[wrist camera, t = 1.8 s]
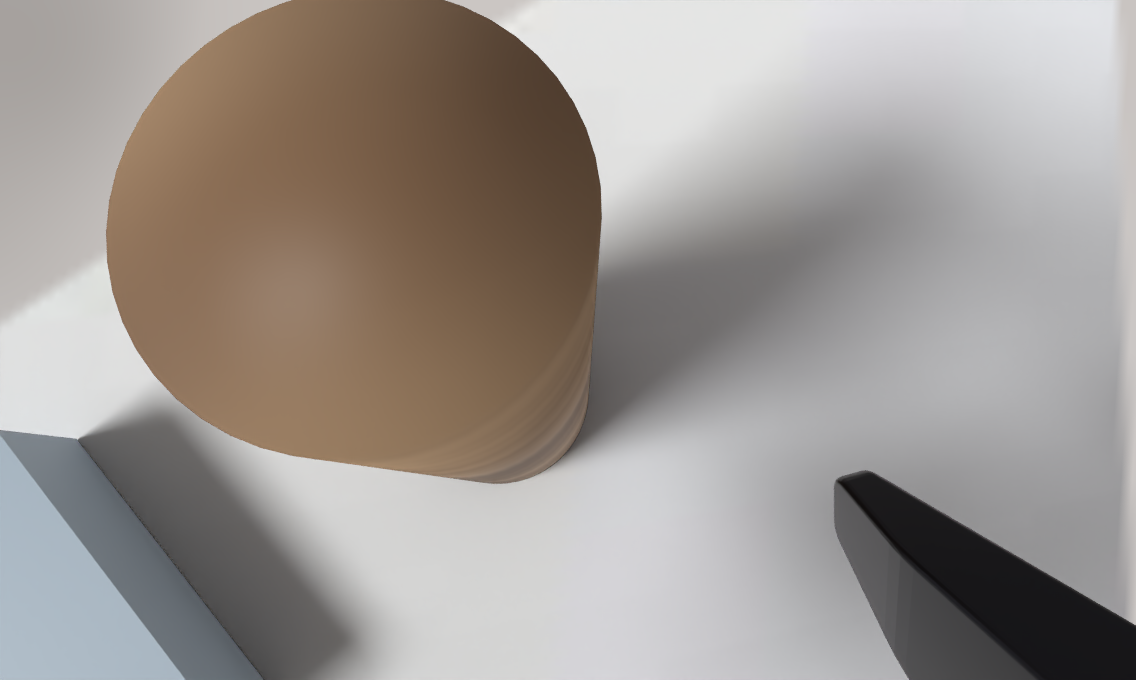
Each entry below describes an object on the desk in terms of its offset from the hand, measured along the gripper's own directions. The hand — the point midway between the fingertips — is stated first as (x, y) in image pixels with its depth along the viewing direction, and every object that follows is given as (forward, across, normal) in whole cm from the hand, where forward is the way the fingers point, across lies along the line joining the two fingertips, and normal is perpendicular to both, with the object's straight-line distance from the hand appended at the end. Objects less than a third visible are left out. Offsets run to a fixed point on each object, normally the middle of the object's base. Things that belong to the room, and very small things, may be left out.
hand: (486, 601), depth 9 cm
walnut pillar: (+11, 0, +5) cm, 12 cm away
